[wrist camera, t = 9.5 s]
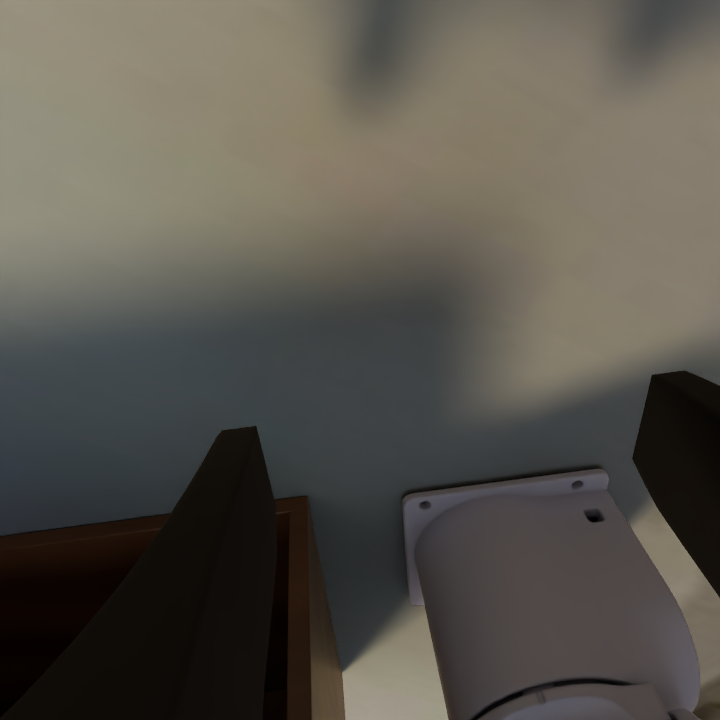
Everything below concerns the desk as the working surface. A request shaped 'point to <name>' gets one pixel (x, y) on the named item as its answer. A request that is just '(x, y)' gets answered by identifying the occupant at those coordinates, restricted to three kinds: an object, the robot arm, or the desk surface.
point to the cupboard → (111, 566)
